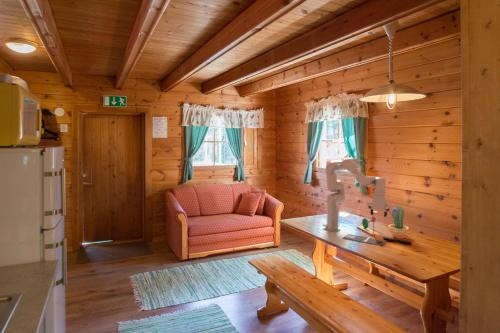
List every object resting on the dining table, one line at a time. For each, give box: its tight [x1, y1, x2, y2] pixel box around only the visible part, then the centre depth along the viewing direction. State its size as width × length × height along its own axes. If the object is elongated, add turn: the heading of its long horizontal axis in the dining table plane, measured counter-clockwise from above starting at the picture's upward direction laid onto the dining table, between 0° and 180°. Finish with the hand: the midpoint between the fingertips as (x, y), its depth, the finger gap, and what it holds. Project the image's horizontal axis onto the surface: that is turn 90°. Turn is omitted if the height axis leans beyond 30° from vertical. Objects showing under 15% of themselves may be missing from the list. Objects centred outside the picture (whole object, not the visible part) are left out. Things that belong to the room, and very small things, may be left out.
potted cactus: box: [387, 205, 410, 239], centre depth 271 cm, size 15×15×25 cm
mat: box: [342, 233, 387, 247], centre depth 263 cm, size 30×13×1 cm, turn 56°
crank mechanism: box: [356, 210, 379, 237], centre depth 285 cm, size 25×7×19 cm, turn 12°
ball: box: [374, 233, 384, 242], centre depth 256 cm, size 6×6×6 cm
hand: (378, 215), depth 256 cm, fingers open, 9 cm apart
